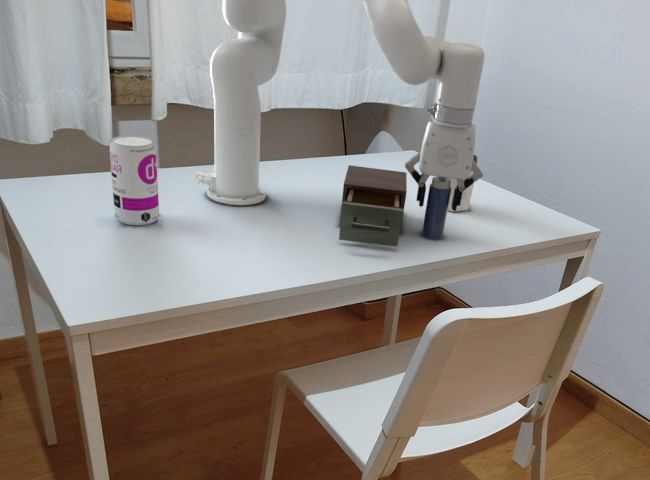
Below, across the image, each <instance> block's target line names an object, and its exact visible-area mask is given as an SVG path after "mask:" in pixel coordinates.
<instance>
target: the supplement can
mask: <svg viewBox="0 0 650 480" xmlns="http://www.w3.org/2000/svg"><path fill="white" fill-rule="evenodd" d="M111 141H112V142H111V143H110V145H109V160H110V162H109V163H110V171H111V184H112V185H111V186H112V198H113V209H114V217H115V218H116V219H117V220H118V221H119V222H120V223H122V224H125V225H129V226H146V225H151V224H153V223H155V222H156V221H157V220H158V219H159V218H160V203H159V181H158V160H157V148H156V146H155V144H154V143H153V140H152V139H151V138H149V137H147V136H141V135H120V136H115V137H113V138H112V140H111Z"/></svg>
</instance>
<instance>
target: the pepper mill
mask: <svg viewBox="0 0 650 480" xmlns="http://www.w3.org/2000/svg"><path fill="white" fill-rule="evenodd" d="M451 189H452V188H451V180H450V179H449V178H446V177H438V176H432V178H431V183H430V184H429V187H428V193H427V199H426V206H425V212H424V217H423V222H422V229H421V236H422V237H424V238H425V239H428V240H442V239H443V236H444V232H445V226H446V221H447V216H448V212H449V211H448V205H449V200H450V194H451Z"/></svg>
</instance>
